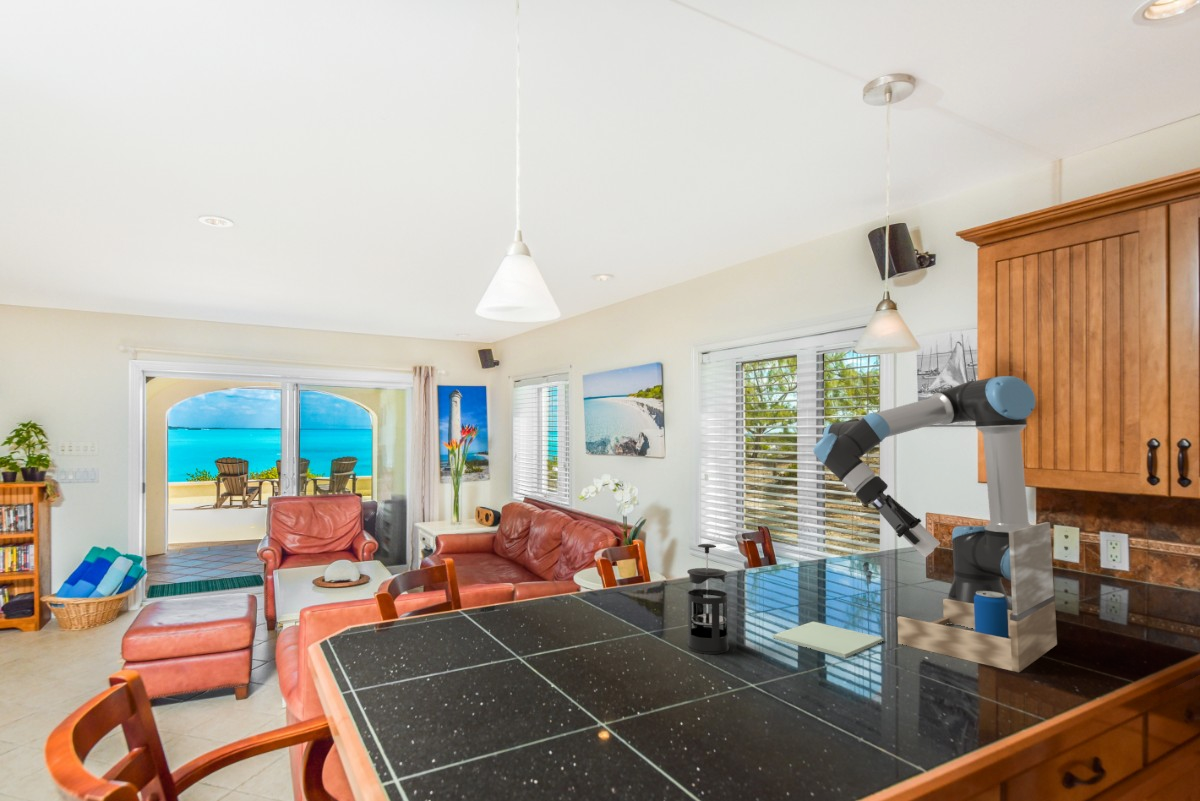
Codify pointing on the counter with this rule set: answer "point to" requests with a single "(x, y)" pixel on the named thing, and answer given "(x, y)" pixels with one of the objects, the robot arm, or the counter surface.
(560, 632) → the counter surface
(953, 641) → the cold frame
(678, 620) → the counter surface
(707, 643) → the french press
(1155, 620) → the counter surface
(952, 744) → the counter surface
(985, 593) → the beverage can
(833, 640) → the mat
